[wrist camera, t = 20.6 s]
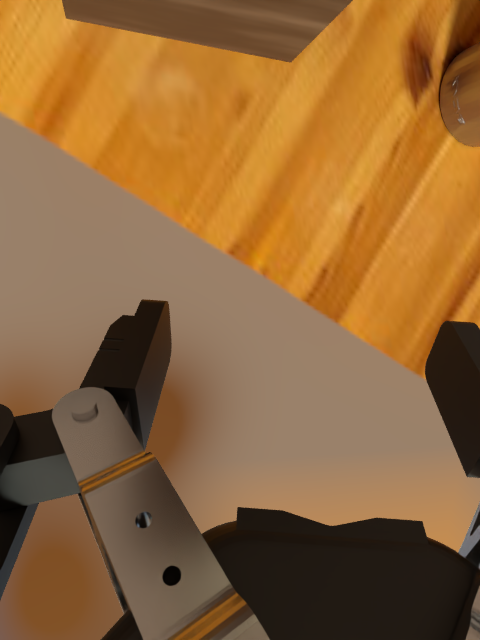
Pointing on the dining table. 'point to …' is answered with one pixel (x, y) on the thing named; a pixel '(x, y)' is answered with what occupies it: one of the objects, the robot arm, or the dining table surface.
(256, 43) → the walnut stand
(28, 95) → the dining table surface
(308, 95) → the dining table surface
